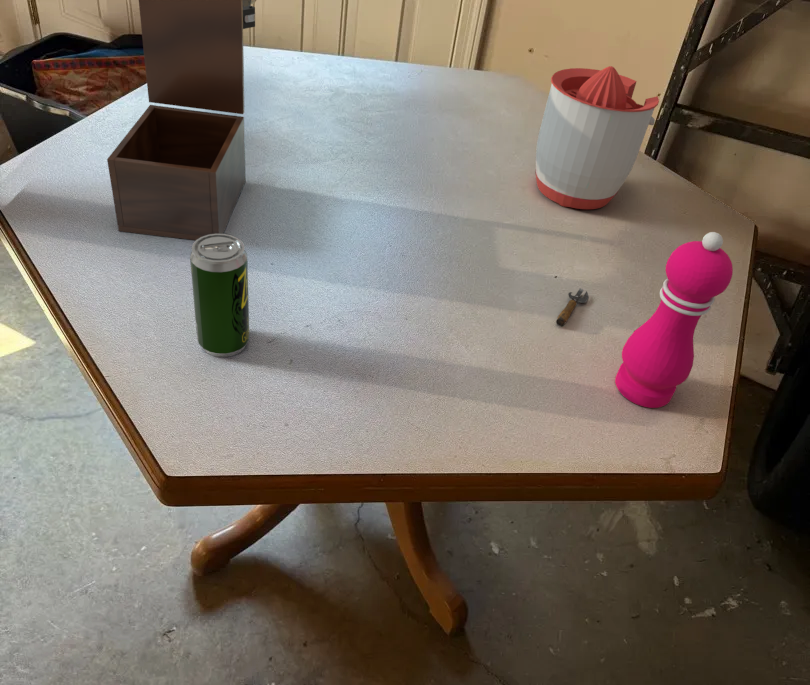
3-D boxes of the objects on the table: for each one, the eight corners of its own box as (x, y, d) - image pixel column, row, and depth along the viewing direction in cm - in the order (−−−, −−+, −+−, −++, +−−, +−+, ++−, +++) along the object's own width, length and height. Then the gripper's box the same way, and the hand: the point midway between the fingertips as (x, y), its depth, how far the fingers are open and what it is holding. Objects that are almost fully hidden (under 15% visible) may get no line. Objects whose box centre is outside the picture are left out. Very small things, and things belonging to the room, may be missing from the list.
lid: (240, -28, 84) (242, -29, 85) (134, -43, 84) (136, -44, 84) (243, 114, 95) (244, 112, 96) (148, 102, 94) (150, 100, 95)
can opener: (562, 328, 84) (564, 321, 83) (545, 320, 85) (547, 312, 84) (592, 296, 90) (594, 289, 89) (575, 288, 91) (578, 281, 90)
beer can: (199, 361, 72) (190, 264, 65) (196, 328, 76) (187, 233, 69) (252, 356, 74) (250, 261, 66) (246, 324, 78) (244, 231, 70)
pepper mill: (617, 407, 75) (689, 249, 62) (604, 362, 80) (668, 209, 68) (683, 415, 75) (768, 259, 62) (666, 370, 81) (741, 218, 68)
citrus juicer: (649, 215, 110) (700, 88, 97) (551, 221, 104) (591, 87, 91) (599, 168, 120) (639, 48, 108) (508, 171, 115) (538, 45, 102)
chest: (219, 243, 89) (215, 172, 83) (118, 231, 88) (106, 159, 82) (245, 181, 102) (244, 116, 96) (157, 171, 101) (150, 104, 95)
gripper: (175, -41, 100) (136, -9, 86) (269, -28, 101) (244, 6, 87) (180, 15, 105) (143, 53, 91) (269, 27, 105) (246, 67, 92)
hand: (193, 30), depth 89 cm, fingers closed
